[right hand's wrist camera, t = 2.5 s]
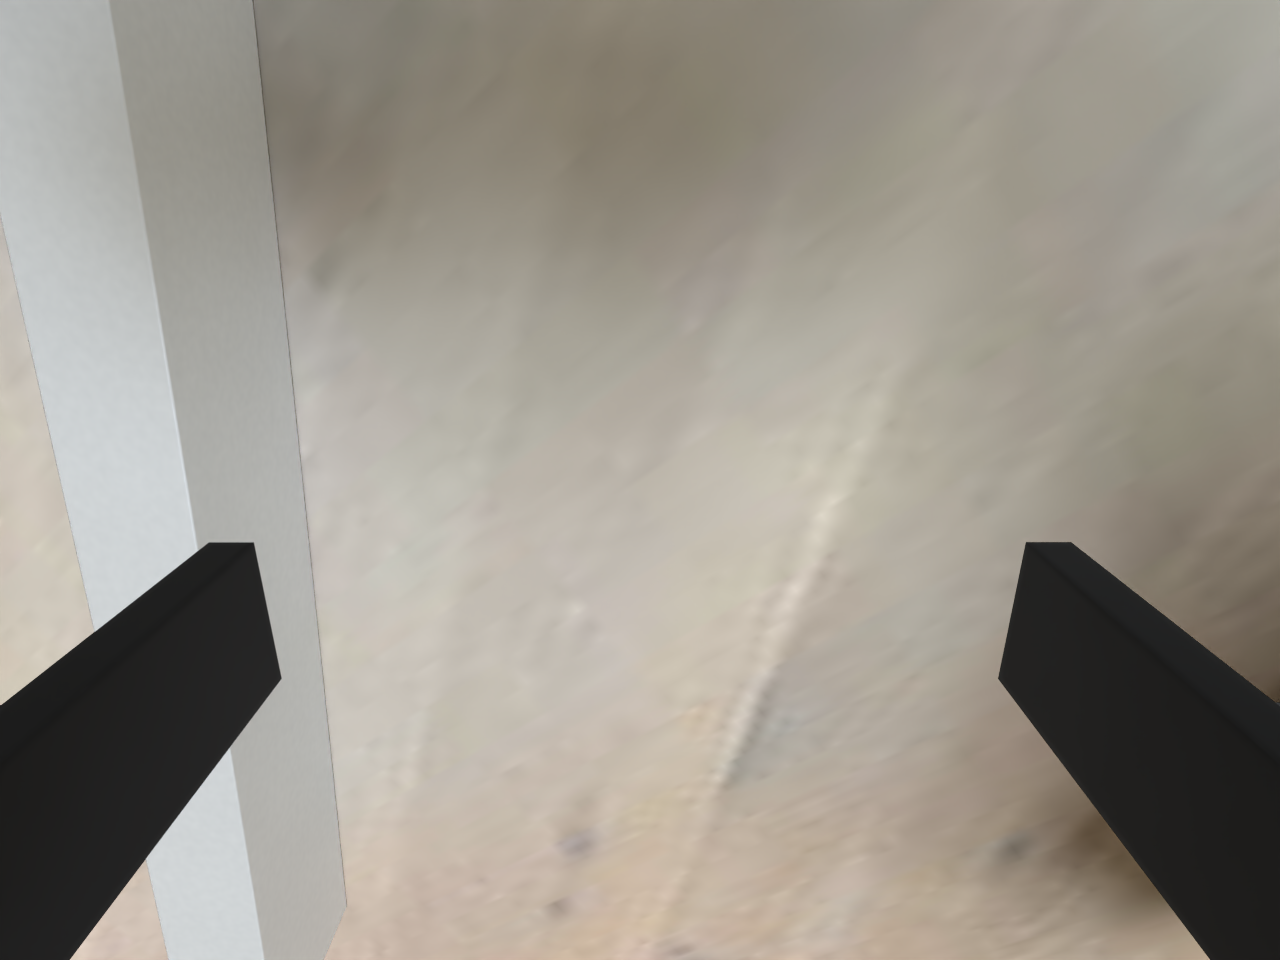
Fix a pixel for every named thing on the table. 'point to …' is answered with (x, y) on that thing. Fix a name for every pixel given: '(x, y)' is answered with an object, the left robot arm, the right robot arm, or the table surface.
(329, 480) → the table surface
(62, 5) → the bar
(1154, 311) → the table surface
